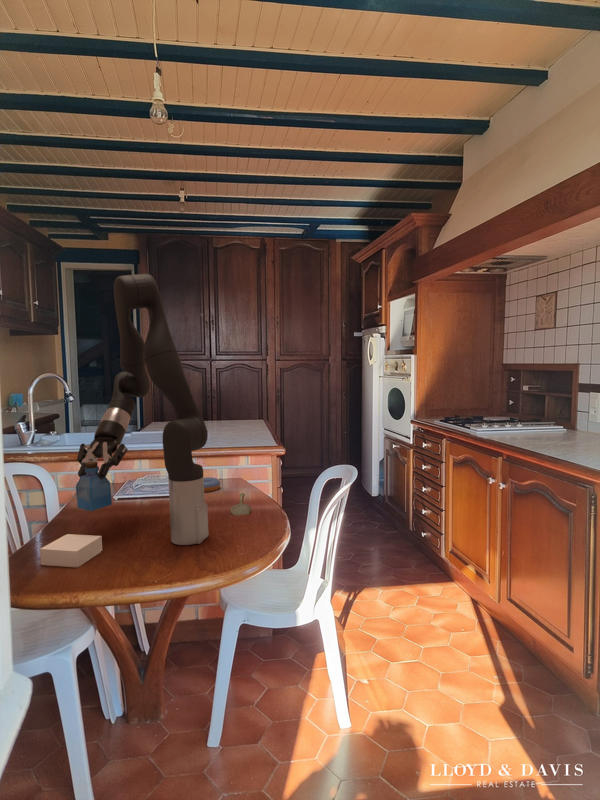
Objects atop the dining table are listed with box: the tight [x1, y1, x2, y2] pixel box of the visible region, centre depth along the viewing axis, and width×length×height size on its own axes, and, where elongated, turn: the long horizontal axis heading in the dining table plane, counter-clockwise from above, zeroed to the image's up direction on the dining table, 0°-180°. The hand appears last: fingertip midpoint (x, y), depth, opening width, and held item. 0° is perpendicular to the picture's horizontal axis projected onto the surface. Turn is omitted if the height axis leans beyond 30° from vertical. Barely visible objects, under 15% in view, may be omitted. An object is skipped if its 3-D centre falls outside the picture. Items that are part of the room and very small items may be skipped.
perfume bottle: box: [75, 461, 113, 512], centre depth 132 cm, size 6×6×12 cm
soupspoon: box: [230, 492, 252, 516], centre depth 164 cm, size 22×3×7 cm
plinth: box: [39, 533, 103, 568], centre depth 123 cm, size 10×10×4 cm
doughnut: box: [203, 476, 221, 493], centre depth 184 cm, size 10×10×5 cm
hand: (90, 477), depth 131 cm, fingers closed on perfume bottle, 5 cm apart
